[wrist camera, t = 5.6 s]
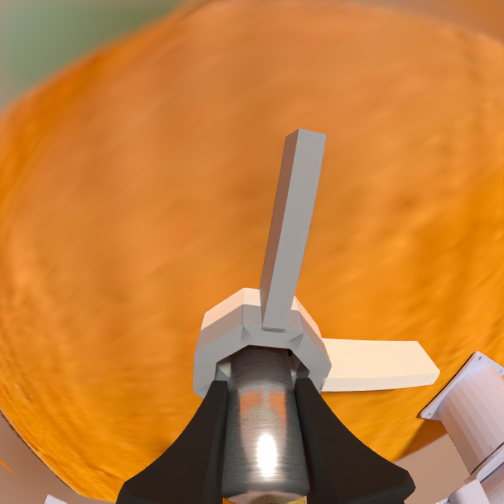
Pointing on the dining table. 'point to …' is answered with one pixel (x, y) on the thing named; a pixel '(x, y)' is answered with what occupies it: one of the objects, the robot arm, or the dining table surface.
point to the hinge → (299, 304)
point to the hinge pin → (263, 431)
